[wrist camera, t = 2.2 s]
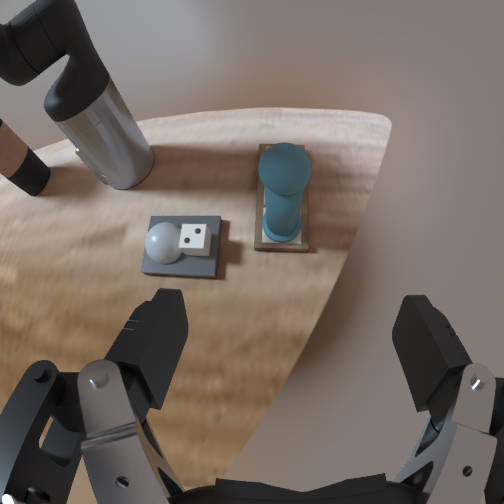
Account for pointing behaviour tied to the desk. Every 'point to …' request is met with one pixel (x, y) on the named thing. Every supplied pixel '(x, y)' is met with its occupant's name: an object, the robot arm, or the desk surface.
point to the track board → (260, 237)
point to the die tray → (185, 261)
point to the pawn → (283, 189)
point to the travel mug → (21, 163)
